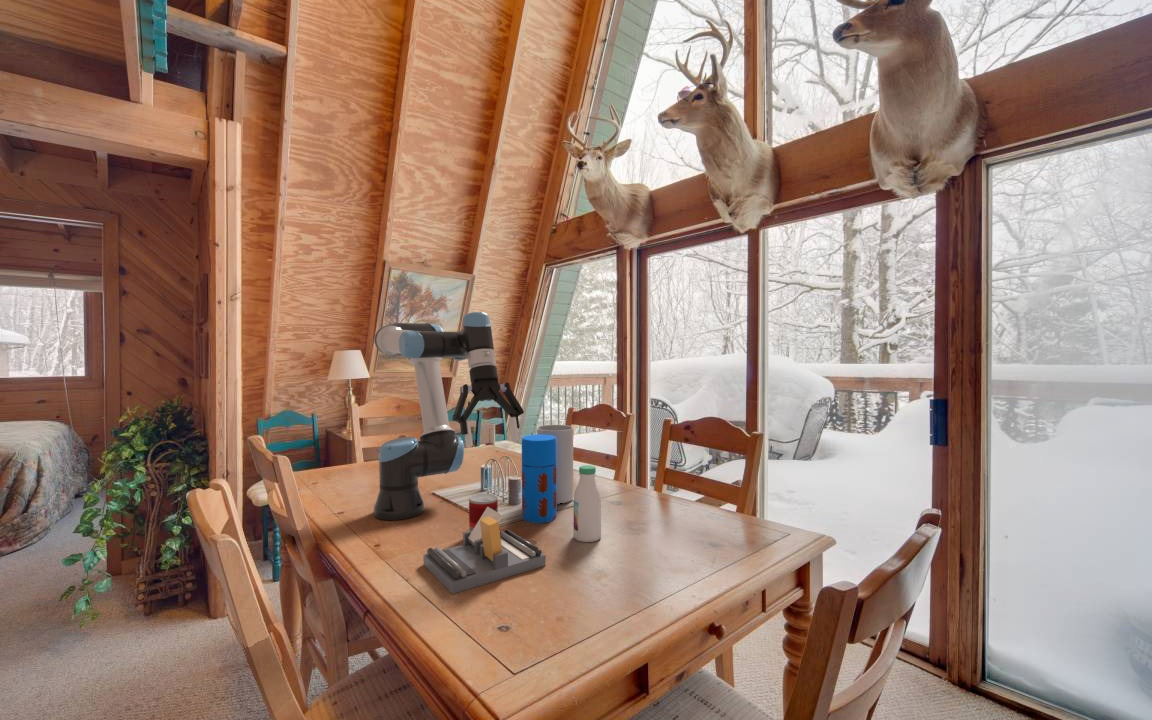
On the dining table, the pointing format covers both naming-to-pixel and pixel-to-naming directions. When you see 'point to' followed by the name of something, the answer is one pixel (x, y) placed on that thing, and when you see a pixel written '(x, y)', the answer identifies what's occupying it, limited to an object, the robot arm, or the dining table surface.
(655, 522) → the dining table surface
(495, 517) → the block
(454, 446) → the robot arm
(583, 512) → the milk bottle
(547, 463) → the thermos
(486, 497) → the canned food
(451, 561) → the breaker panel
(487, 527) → the block
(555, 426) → the cylinder vase
